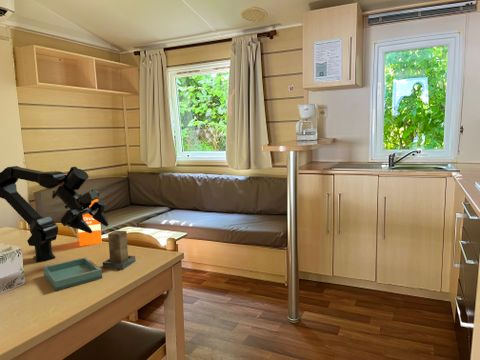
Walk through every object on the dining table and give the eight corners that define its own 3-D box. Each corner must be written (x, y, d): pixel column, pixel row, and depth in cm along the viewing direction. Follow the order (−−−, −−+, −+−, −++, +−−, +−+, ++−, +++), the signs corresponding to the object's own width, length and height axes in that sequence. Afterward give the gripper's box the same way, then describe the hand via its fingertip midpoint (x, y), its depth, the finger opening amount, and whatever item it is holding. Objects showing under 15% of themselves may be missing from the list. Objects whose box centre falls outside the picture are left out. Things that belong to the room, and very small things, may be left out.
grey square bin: (103, 267, 125) (102, 262, 124) (116, 259, 132) (116, 254, 132) (123, 269, 123) (122, 264, 122) (135, 261, 130) (135, 255, 130)
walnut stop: (110, 266, 126) (108, 233, 124) (117, 261, 130) (115, 230, 129) (121, 267, 125) (119, 234, 123) (128, 262, 129) (126, 231, 128)
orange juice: (80, 241, 157) (76, 197, 154) (101, 238, 160) (98, 195, 157) (79, 246, 149) (75, 200, 147) (101, 243, 153) (98, 198, 150)
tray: (43, 275, 119) (43, 267, 119) (86, 264, 128) (86, 256, 127) (55, 291, 107) (54, 281, 106) (102, 278, 116) (101, 269, 115)
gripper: (64, 187, 118) (95, 220, 116) (99, 179, 136) (127, 208, 134) (47, 209, 121) (77, 242, 120) (84, 199, 139) (110, 227, 137)
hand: (99, 228), depth 128 cm, fingers open, 9 cm apart
